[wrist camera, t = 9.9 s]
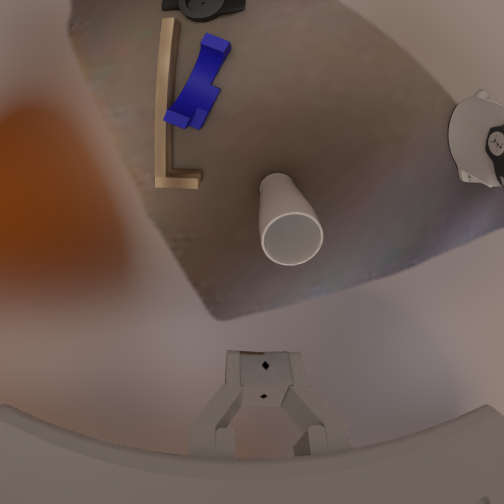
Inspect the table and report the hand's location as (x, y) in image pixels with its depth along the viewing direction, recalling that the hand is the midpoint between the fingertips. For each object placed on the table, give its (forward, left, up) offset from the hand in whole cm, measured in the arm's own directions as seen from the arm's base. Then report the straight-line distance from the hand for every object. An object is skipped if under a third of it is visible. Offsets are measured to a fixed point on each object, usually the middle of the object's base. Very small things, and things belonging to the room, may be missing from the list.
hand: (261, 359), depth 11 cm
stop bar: (+9, -7, -33) cm, 35 cm away
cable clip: (+6, -10, -33) cm, 35 cm away
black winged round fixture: (+8, -22, -34) cm, 41 cm away
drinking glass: (-5, +5, -33) cm, 34 cm away
